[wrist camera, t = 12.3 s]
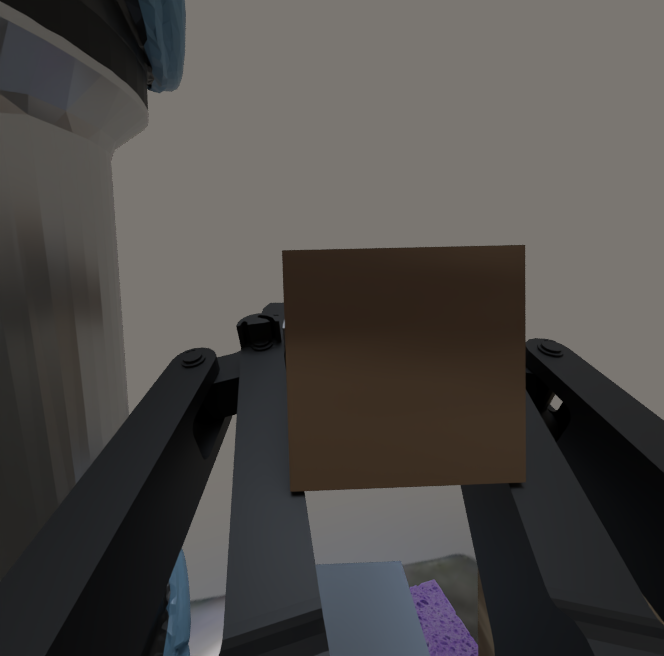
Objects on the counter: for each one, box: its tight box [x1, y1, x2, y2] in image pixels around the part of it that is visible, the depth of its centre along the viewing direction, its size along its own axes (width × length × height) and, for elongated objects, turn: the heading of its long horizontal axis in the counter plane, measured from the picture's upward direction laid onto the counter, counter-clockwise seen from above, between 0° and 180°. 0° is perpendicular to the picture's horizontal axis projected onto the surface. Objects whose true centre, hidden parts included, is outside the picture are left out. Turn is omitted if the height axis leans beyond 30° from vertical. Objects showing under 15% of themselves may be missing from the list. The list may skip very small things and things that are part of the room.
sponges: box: [409, 580, 478, 656], centre depth 35 cm, size 7×13×2 cm, turn 15°
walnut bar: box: [282, 245, 526, 492], centre depth 17 cm, size 24×4×4 cm, turn 1°
